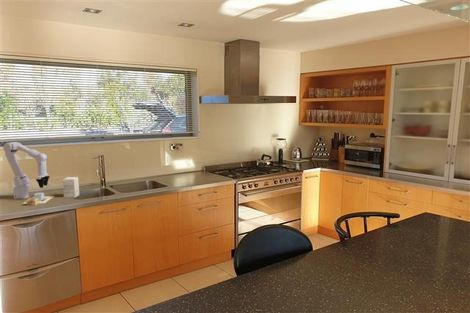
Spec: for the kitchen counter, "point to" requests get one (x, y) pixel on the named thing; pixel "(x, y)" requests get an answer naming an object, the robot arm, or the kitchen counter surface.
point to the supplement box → (71, 187)
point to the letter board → (44, 199)
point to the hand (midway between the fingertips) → (43, 186)
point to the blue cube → (39, 196)
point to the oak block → (32, 201)
